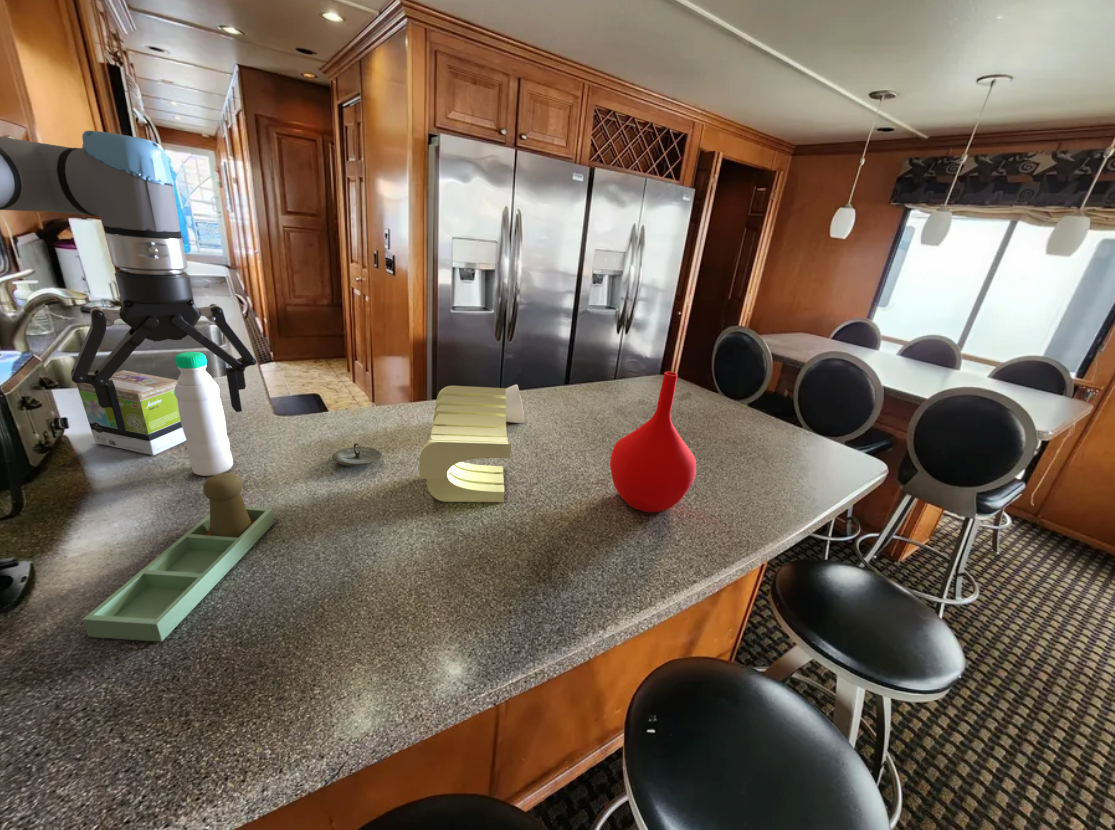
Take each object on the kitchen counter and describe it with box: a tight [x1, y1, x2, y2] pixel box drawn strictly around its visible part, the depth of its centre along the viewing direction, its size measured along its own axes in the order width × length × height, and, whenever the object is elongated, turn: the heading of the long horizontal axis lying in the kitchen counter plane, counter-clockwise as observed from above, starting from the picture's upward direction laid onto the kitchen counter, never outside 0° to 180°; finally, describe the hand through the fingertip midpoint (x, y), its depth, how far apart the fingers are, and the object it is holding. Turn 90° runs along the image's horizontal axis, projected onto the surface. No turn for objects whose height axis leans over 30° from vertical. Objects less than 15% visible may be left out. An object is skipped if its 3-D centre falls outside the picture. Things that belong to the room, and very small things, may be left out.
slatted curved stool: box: [418, 385, 512, 503], centre depth 97 cm, size 30×16×18 cm, turn 8°
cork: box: [202, 472, 252, 538], centre depth 76 cm, size 6×6×11 cm
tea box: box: [76, 369, 187, 456], centre depth 101 cm, size 15×10×15 cm
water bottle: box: [174, 351, 234, 477], centre depth 92 cm, size 7×7×25 cm
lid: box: [331, 443, 383, 467], centre depth 104 cm, size 11×10×5 cm
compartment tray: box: [81, 506, 275, 643], centre depth 70 cm, size 9×26×3 cm, turn 1°
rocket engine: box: [505, 383, 525, 424], centre depth 133 cm, size 12×12×18 cm
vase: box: [609, 371, 697, 514], centre depth 97 cm, size 18×18×30 cm
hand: (183, 417), depth 68 cm, fingers open, 13 cm apart
